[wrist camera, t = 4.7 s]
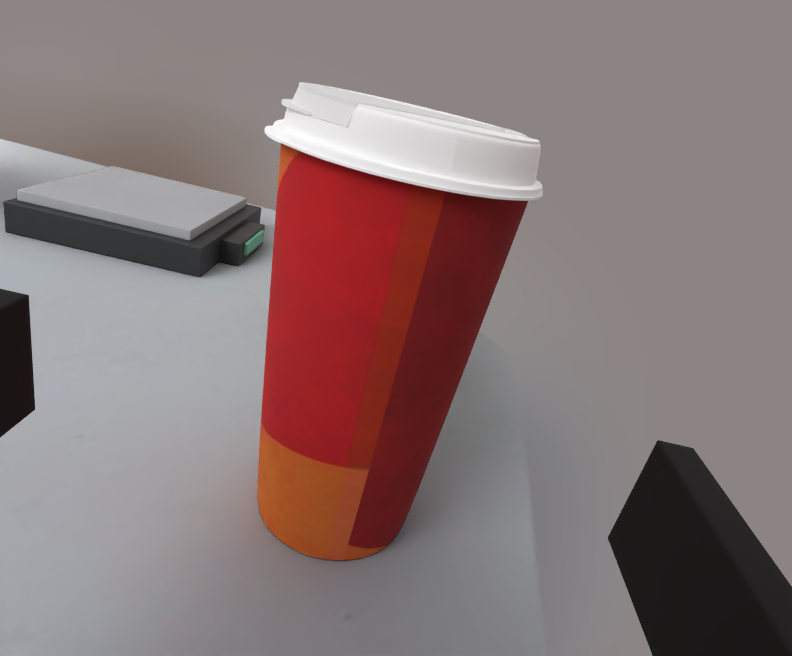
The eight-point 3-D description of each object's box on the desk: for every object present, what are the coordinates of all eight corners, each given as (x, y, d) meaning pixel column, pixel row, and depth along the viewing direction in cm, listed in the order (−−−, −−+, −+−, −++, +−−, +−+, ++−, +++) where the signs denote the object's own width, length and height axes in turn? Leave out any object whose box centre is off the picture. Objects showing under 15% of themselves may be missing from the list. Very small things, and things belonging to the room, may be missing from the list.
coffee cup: (404, 440, 27) (493, 121, 21) (459, 584, 20) (618, 162, 14) (226, 433, 24) (267, 69, 18) (215, 595, 17) (276, 86, 11)
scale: (276, 234, 52) (281, 203, 51) (224, 282, 39) (228, 242, 38) (112, 195, 52) (112, 163, 50) (5, 231, 39) (1, 189, 38)
